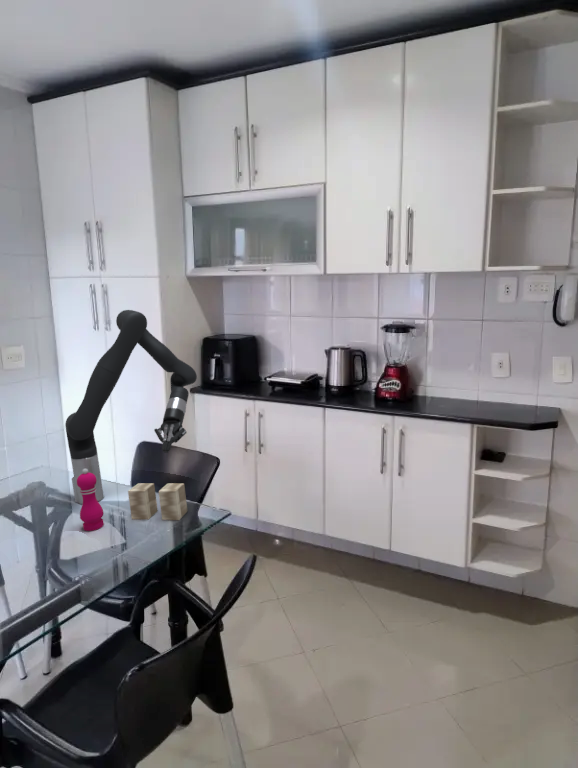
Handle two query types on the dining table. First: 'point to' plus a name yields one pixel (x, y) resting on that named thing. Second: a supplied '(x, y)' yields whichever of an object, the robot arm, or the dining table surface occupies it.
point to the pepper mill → (89, 502)
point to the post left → (142, 501)
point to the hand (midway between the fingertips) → (165, 451)
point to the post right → (173, 501)
